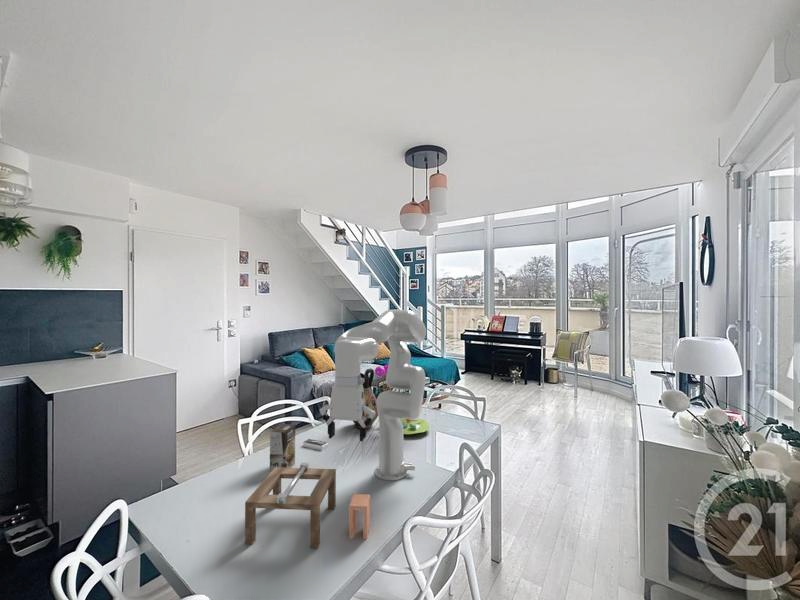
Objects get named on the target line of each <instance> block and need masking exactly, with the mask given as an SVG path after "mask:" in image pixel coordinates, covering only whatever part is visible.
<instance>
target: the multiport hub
mask: <svg viewBox="0 0 800 600" xmlns="http://www.w3.org/2000/svg"><path fill="white" fill-rule="evenodd" d="M302 446H303V447H305V448H309V449H313V450H316V451H321V452H322V451H323V452H324V451H325V450H326V449H328V447H329V443H328V442H325V441H321V440H316V439H311V438H308V439H306V440H304V441H303V442H302Z"/></svg>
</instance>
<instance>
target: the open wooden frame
mask: <svg viewBox="0 0 800 600" xmlns="http://www.w3.org/2000/svg"><path fill="white" fill-rule="evenodd" d="M299 470H300V467H291V468H286V467H275V468H274V469H273V471H272V472H269V474H268V475H267V477H266V478H265V479H264V480H263V481H262V482H261V483H260V484H259V486H258V487H256V489H255V490H254V491H253V492H252V493H251V495H250V496H249V497H248V498H247V499H246V500H245V502H244V512H245V513H244V545H246V546H253V545H254V543H255V541H257V540H256V538H257V537H256V536H257V534H256V531H257V527H256V525H257V523H256V521H257V519H256V517H257V516H256V515H257V511H256V510H257V509H273V510H297V511H298V510H299V511H300V510H301V511H310V516H309V517H310V533H309V535H310V536H309V539H310V546H309V547H310V548H309V549H311V550H312V549H313V550H318V549H319V546H320V543H321V536H320V535H321V519H320V518H321V506H322V503H323V501H324V499H325V497H326V495H327V509H328V510H334V511H335V508H336V505H337V503H336V502H337V500H336V497H337V496H336V494H337V490H336V489H337V487H336V486H337V481H336V479H337V477H336V476H337V469H336V468H312V467H311V468H310V467H309V469H308V471H304V473H303V474H302V476H301V477H300V479H299V480H318V481H317V482H316V484H315V486H314V488H313V490H312V492H311V493H310V495H290V494H289V495H288V501H287V502H286V504H282V503H277V496H278V495H279V493H282V479H291V480H293V479H294V477H295V476H296V475H297V473H298V472H299ZM271 492H272V494H270V493H271Z"/></svg>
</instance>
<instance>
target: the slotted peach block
mask: <svg viewBox="0 0 800 600" xmlns="http://www.w3.org/2000/svg"><path fill="white" fill-rule="evenodd" d="M348 508H349V510H348V513H349V514H348V524H349V525H348V527H349V528H348V537H349V538H348V539H354V535H355V531H356V528H357V525H358V523H357V521H358V519H357V516H358V513H357V512H358V511H361V512H362V513H363V518H362V519H363V522H362V523H363V525H362V526H363V527H362V528H363V529H362V530H363V532H362V533H363V535H362V538H363V540H367V539H368V536H369V532H370V527H371V494H365V493H364V494H362V493H353V494H352V497H351V500H350V503H349V505H348Z"/></svg>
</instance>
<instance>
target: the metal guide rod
mask: <svg viewBox="0 0 800 600" xmlns="http://www.w3.org/2000/svg"><path fill="white" fill-rule="evenodd" d="M299 468H300V470H299V472H298V473H297V475H296V476H295V477H294V479H291V482H290V483H289V484H288V486H287V487H286V489H285V490H284V492H283V493H282V492H281V493H279V495H278V496H277V503H282V504H286V502H287V501H288V495H290V493H291V492H292V491H293V489H294V487H295V486H296V485H297V483H298V482H299V480H301V479H300V477H301V476H302V474H303V473H304V471H308V469H309V468H310V463H309V462H301V463H300V464H299Z"/></svg>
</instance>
